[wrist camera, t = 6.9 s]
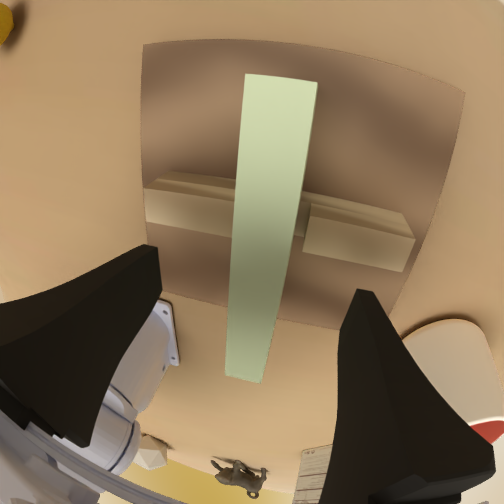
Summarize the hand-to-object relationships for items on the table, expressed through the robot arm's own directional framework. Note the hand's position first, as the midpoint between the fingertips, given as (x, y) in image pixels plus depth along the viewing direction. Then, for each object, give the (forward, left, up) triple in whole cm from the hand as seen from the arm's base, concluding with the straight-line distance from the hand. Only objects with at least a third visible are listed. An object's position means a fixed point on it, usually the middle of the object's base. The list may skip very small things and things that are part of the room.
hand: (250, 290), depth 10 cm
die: (-60, +19, -9) cm, 63 cm away
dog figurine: (-57, -1, -9) cm, 58 cm away
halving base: (0, 0, -9) cm, 9 cm away
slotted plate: (0, 0, -8) cm, 8 cm away
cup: (-11, -16, -9) cm, 21 cm away
